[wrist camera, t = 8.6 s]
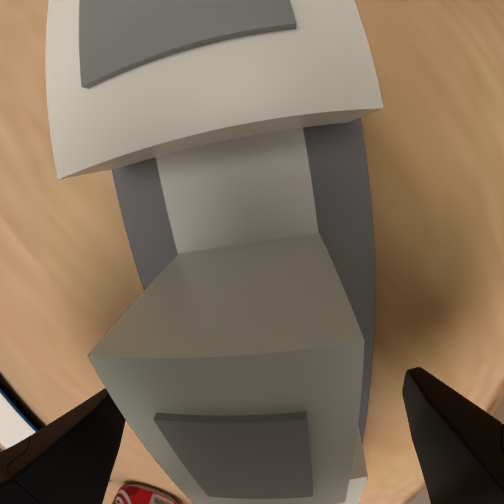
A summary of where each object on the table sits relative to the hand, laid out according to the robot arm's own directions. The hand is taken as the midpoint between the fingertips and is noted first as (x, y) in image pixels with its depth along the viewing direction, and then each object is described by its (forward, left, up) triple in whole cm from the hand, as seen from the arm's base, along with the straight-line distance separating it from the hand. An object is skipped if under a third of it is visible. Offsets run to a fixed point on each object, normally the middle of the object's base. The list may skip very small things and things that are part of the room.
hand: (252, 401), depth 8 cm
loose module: (0, 0, -4) cm, 4 cm away
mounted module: (0, -11, -5) cm, 12 cm away
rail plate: (0, 0, -5) cm, 5 cm away
